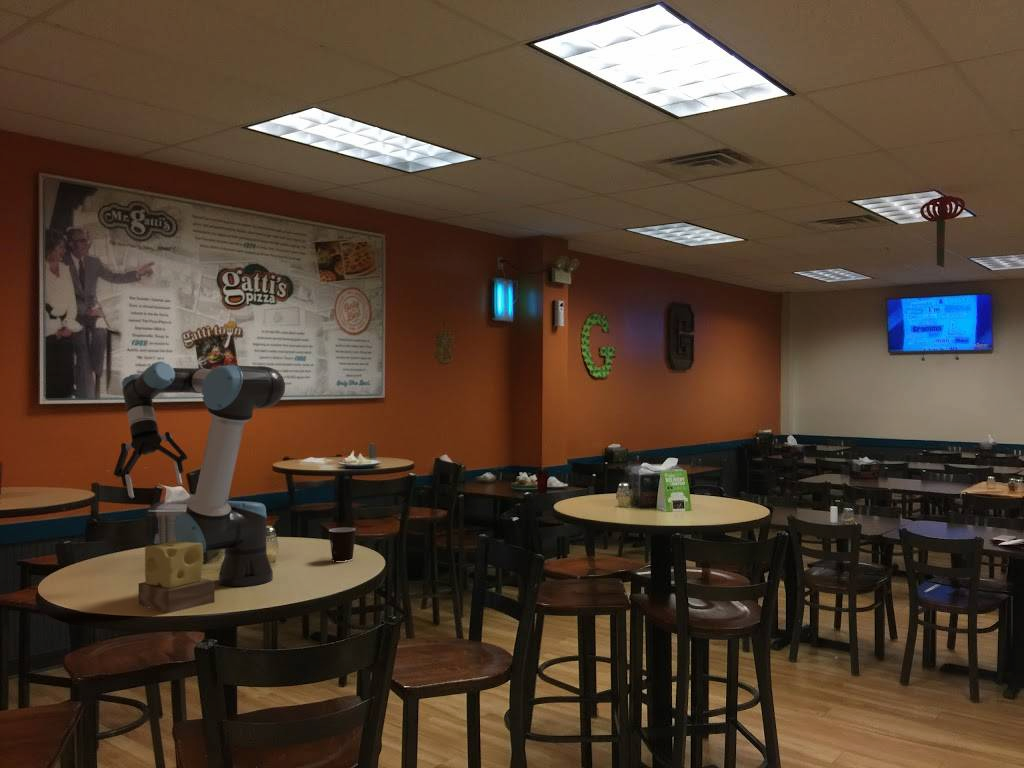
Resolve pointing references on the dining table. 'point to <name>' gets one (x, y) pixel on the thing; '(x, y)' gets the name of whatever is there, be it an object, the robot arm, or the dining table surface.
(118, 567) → the dining table surface
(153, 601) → the walnut block
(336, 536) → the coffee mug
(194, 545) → the cheese
